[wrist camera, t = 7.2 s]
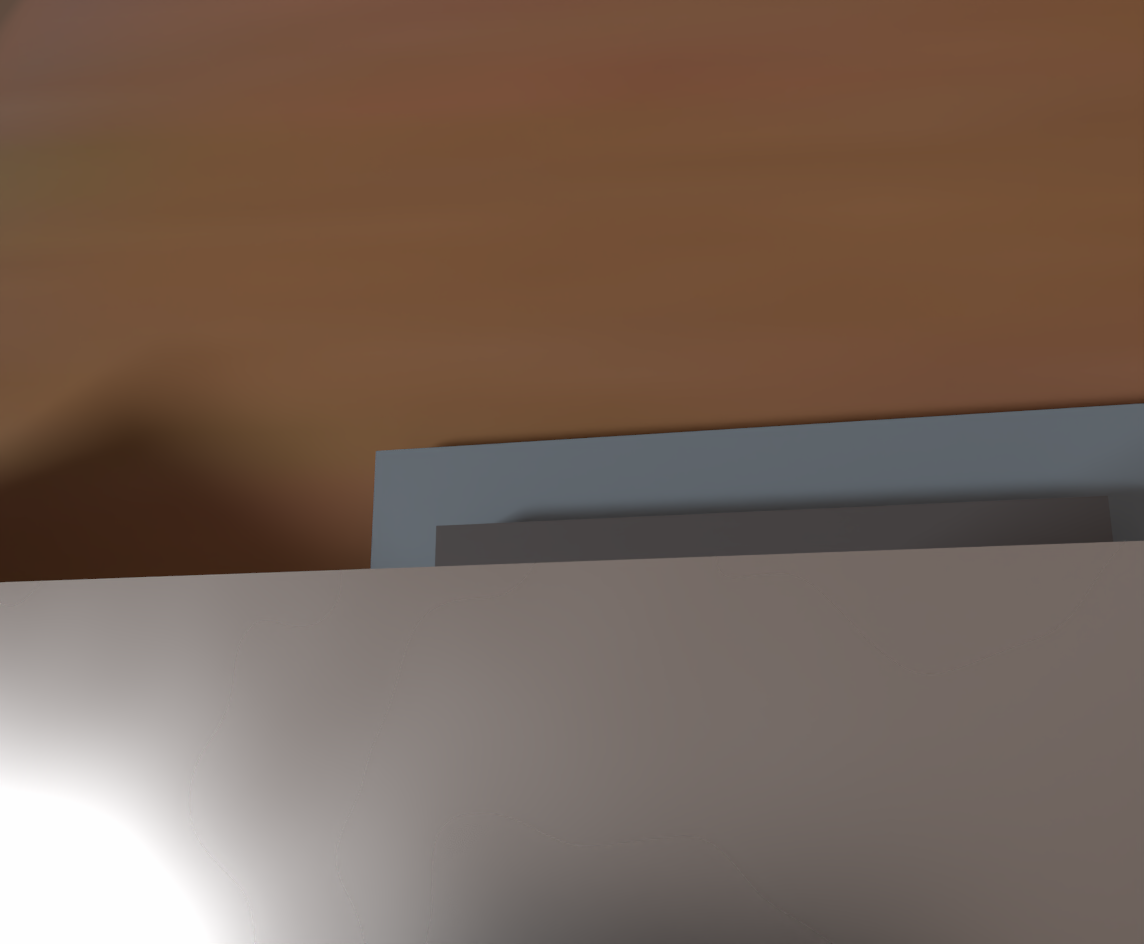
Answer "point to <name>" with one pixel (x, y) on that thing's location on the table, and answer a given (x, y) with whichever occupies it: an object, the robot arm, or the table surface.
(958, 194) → the table surface
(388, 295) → the table surface
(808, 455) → the dock
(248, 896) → the block
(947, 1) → the table surface
